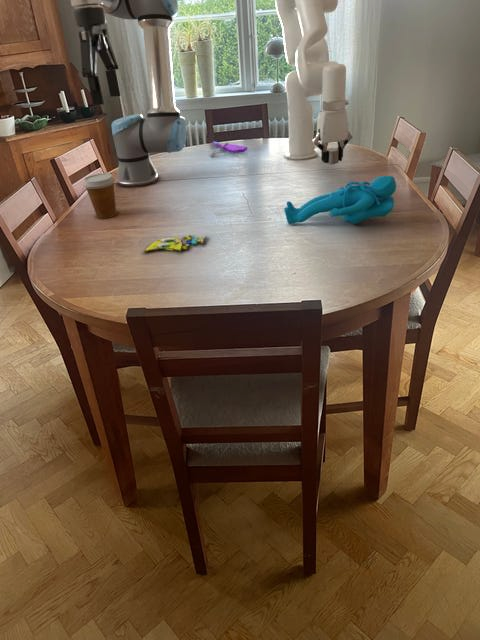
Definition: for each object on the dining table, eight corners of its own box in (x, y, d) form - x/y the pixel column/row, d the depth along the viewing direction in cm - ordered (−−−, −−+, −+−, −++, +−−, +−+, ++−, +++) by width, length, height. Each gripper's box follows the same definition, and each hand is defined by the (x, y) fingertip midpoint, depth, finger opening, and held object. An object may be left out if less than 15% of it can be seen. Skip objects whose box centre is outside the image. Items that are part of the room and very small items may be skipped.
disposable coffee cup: (85, 218, 153) (75, 181, 146) (103, 208, 160) (94, 172, 154) (110, 221, 150) (101, 182, 143) (127, 210, 157) (119, 173, 150)
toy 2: (287, 190, 142) (392, 164, 132) (296, 223, 147) (398, 200, 137) (279, 211, 128) (396, 183, 118) (290, 247, 133) (402, 223, 123)
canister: (337, 164, 168) (338, 151, 165) (324, 164, 169) (324, 151, 167) (339, 160, 171) (340, 147, 169) (326, 160, 173) (326, 147, 170)
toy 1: (199, 248, 125) (143, 249, 127) (199, 251, 125) (144, 252, 127) (206, 233, 133) (154, 234, 135) (206, 236, 133) (154, 237, 136)
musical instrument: (232, 160, 201) (256, 142, 213) (231, 155, 200) (255, 138, 212) (188, 160, 214) (213, 143, 226) (187, 155, 213) (212, 139, 225)
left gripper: (83, 6, 108) (105, 107, 120) (118, 5, 129) (134, 92, 140) (52, 9, 109) (76, 109, 121) (91, 8, 130) (109, 93, 141)
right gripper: (351, 101, 165) (349, 155, 175) (305, 107, 162) (305, 162, 171) (361, 104, 159) (358, 160, 169) (314, 110, 155) (314, 167, 165)
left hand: (107, 100), depth 131 cm, fingers open, 13 cm apart
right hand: (332, 160), depth 170 cm, fingers closed on canister, 4 cm apart
